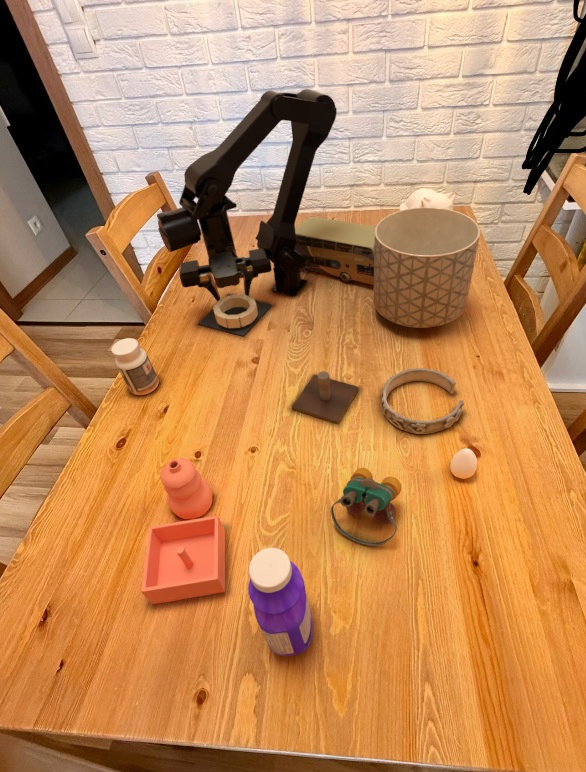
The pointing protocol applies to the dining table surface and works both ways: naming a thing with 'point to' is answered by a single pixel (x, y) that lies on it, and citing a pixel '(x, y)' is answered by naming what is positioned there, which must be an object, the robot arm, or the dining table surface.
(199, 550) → the pottery
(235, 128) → the robot arm
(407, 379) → the bracelet
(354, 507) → the binoculars
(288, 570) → the bottle
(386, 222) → the planter
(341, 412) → the stand
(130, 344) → the pill bottle
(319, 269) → the toy bus
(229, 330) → the rubber mat
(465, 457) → the egg
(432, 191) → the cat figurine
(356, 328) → the dining table surface
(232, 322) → the beige segmented ring
